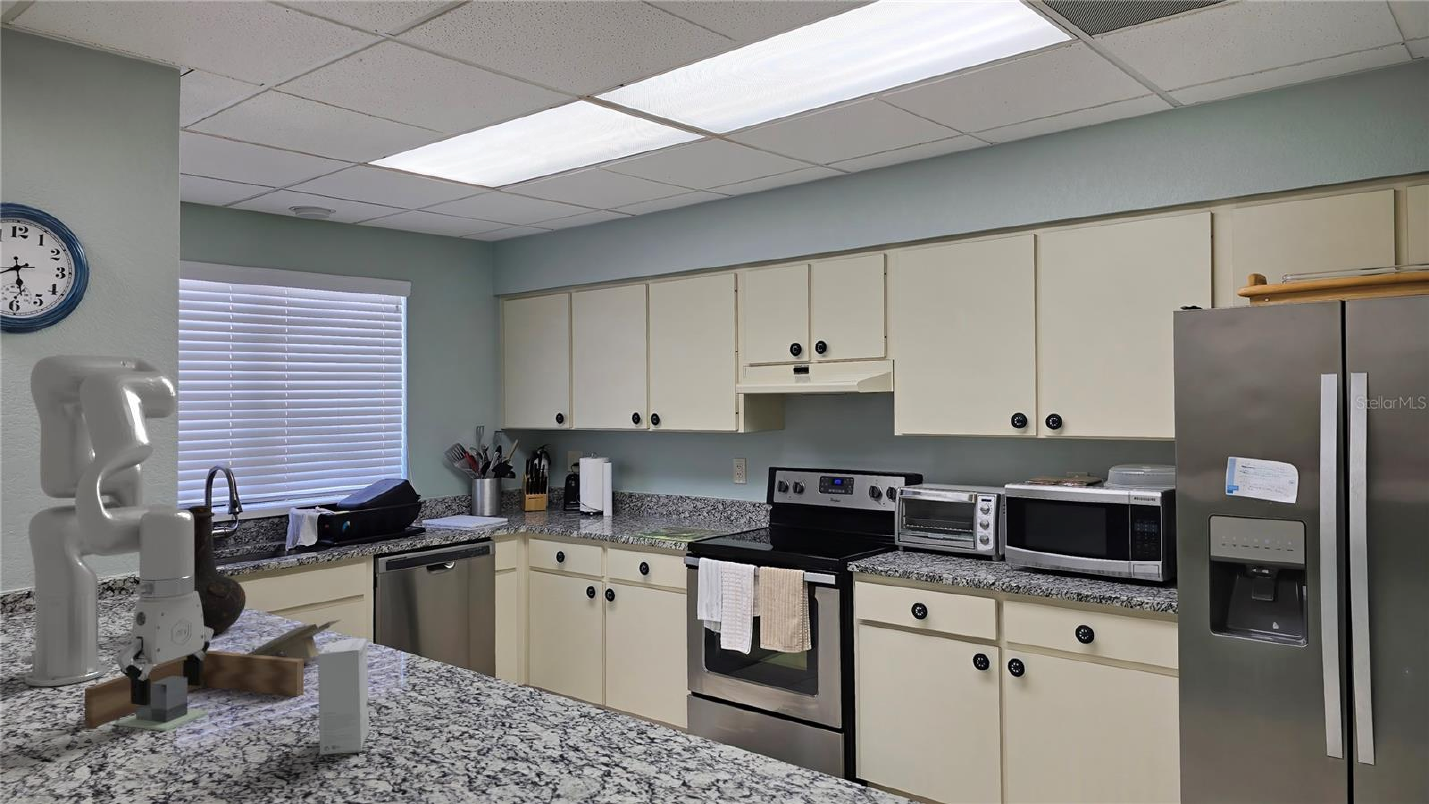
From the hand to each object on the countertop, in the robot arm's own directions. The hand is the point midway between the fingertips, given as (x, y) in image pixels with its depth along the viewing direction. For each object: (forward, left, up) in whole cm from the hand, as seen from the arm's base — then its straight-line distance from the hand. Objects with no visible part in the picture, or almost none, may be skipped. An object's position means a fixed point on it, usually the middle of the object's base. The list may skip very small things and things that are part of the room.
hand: (167, 694), depth 145 cm
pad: (-1, 0, -4) cm, 4 cm away
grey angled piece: (-4, +31, -5) cm, 31 cm away
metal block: (-1, 0, -4) cm, 4 cm away
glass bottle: (-39, +45, -4) cm, 60 cm away
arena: (+1, +6, -4) cm, 7 cm away
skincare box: (+34, -1, -4) cm, 34 cm away
